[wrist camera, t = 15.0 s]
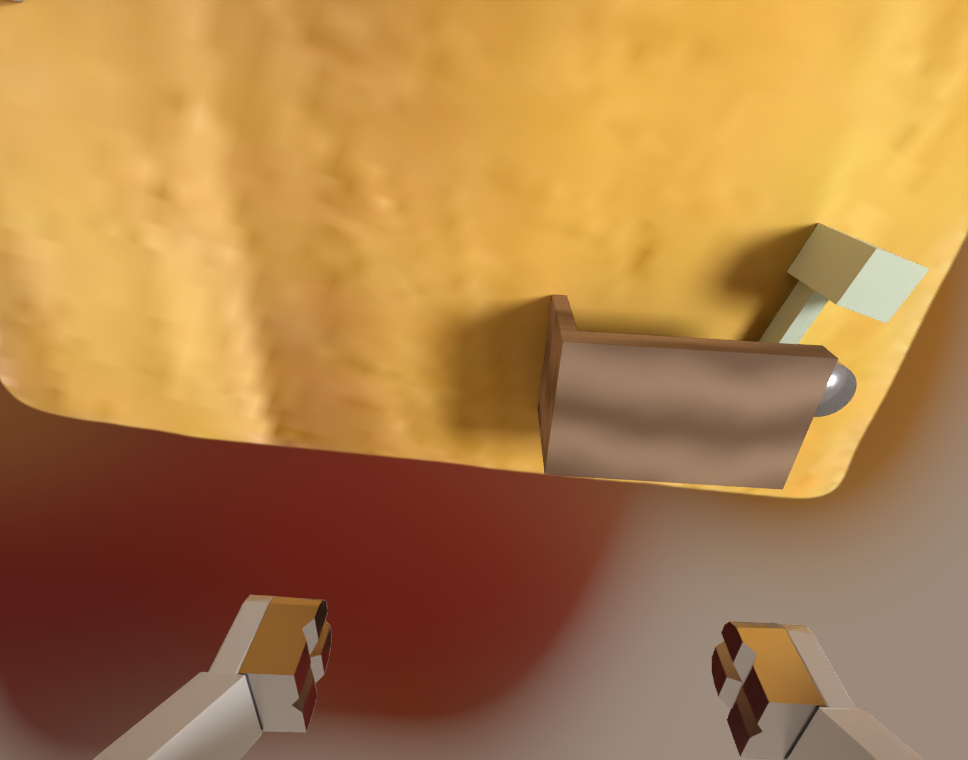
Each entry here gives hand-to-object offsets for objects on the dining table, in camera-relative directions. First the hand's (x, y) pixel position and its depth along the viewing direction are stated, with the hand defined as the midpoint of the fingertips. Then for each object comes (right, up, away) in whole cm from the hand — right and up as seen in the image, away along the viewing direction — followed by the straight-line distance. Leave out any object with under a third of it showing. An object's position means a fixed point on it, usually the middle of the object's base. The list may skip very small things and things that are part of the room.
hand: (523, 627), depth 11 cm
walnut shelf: (+13, +7, +35) cm, 38 cm away
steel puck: (+28, +5, +35) cm, 45 cm away
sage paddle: (+23, +10, +33) cm, 41 cm away
